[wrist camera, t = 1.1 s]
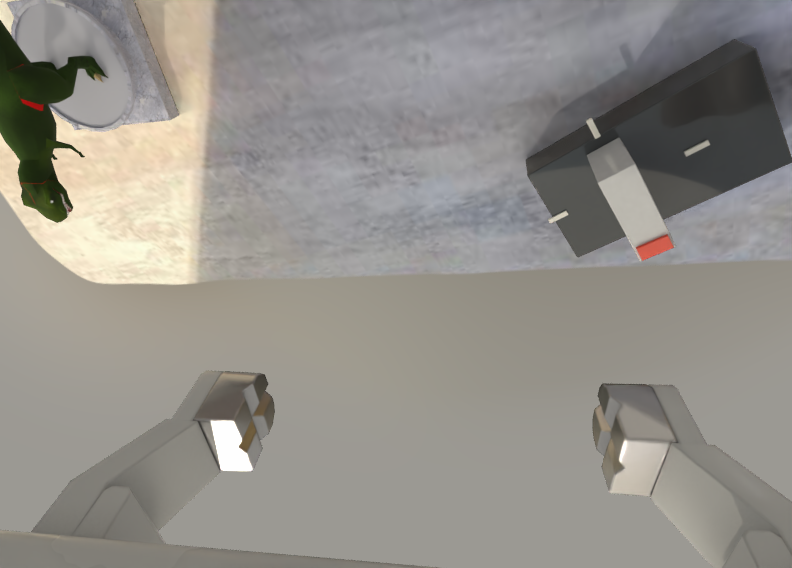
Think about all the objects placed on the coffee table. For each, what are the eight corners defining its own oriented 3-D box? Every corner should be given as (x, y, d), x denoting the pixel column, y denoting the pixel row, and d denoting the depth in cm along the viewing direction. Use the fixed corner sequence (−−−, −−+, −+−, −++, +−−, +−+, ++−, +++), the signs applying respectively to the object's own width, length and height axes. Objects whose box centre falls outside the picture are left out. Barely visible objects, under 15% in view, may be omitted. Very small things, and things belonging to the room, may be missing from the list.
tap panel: (727, 17, 28) (750, 25, 25) (777, 161, 32) (800, 180, 30) (512, 147, 35) (513, 163, 32) (576, 252, 39) (581, 273, 36)
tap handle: (586, 155, 31) (598, 184, 27) (619, 136, 30) (636, 165, 26) (625, 227, 34) (641, 263, 30) (657, 213, 33) (677, 249, 29)
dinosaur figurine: (107, 166, 42) (-3, 230, 33) (-43, -123, 31) (-277, -149, 21) (196, 159, 40) (106, 225, 31) (71, -154, 29) (-133, -198, 19)
